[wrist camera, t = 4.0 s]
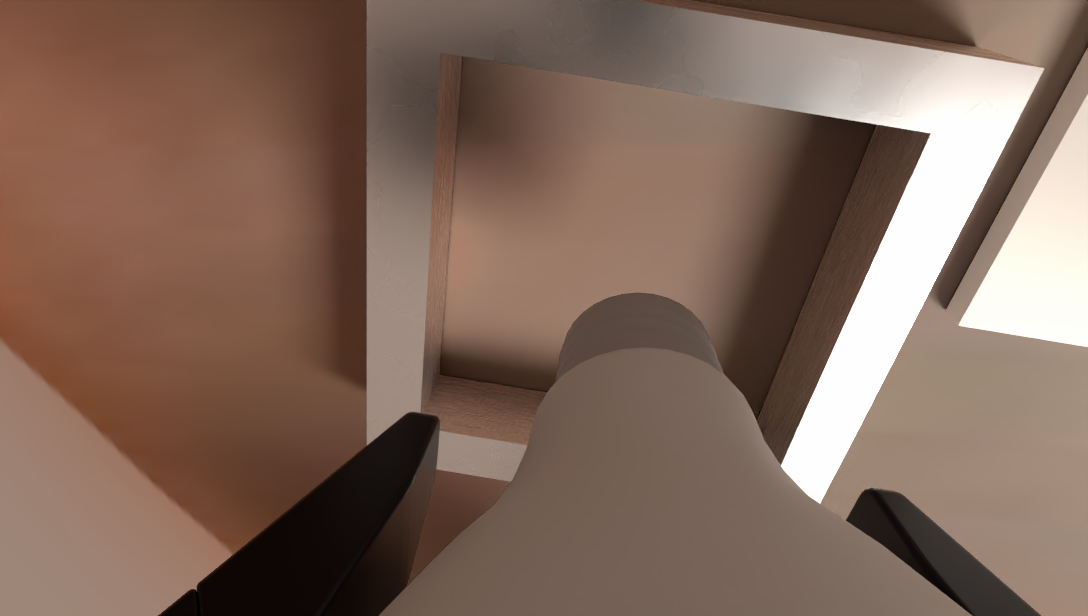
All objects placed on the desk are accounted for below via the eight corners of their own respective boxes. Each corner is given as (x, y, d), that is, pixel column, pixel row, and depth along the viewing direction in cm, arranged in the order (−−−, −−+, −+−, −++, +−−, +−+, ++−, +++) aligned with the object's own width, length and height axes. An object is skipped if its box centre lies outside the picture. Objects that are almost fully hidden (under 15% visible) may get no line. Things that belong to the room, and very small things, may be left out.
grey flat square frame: (785, 469, 17) (806, 530, 15) (391, 404, 17) (366, 457, 15) (978, 47, 12) (1044, 68, 10) (402, -48, 12) (366, -45, 10)
